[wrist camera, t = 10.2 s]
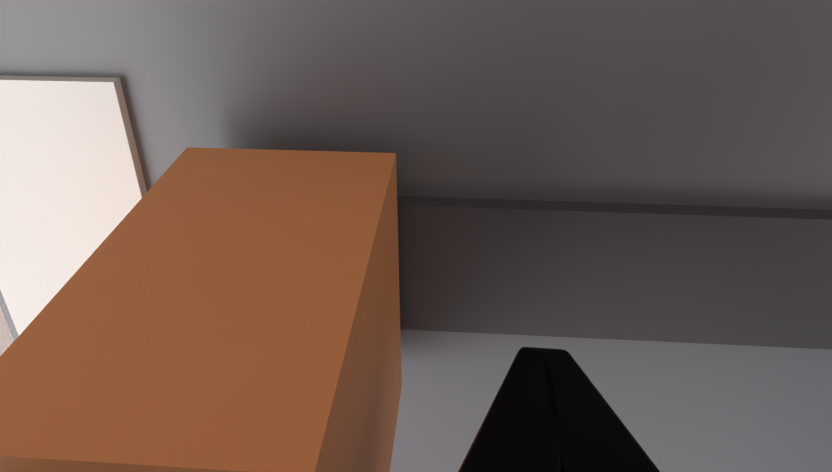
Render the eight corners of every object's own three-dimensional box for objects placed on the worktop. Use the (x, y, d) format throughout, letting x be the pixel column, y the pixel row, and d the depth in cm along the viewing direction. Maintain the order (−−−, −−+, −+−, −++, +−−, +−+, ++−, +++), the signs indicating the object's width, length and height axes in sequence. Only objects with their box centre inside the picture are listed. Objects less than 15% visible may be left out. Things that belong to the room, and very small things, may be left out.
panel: (1379, -310, 9) (1792, -366, 6) (933, 468, 17) (1023, 600, 14) (-70, -279, 10) (-276, -315, 8) (142, 422, 18) (81, 532, 15)
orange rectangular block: (396, 152, 10) (304, 511, 5) (401, 385, 12) (344, 791, 7) (187, 147, 10) (-113, 483, 5) (232, 376, 12) (61, 764, 7)
